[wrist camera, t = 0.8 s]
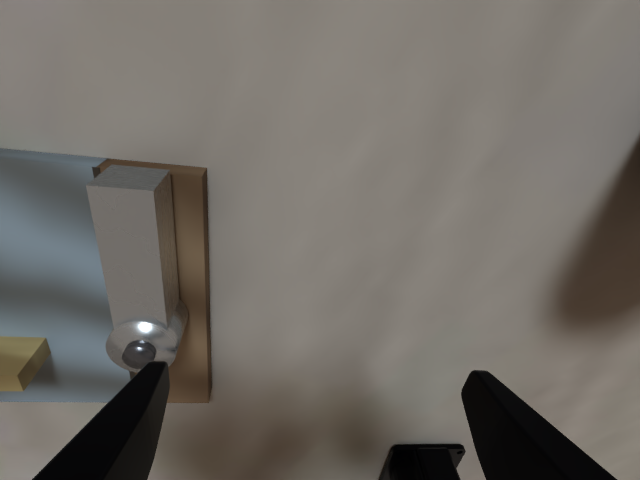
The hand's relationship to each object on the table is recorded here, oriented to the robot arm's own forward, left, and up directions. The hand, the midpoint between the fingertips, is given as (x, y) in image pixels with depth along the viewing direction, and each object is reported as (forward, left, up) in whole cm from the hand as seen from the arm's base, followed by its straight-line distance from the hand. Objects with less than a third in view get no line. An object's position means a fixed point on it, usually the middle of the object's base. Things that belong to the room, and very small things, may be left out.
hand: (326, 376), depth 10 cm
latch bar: (-3, +7, -10) cm, 13 cm away
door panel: (-7, +12, -11) cm, 18 cm away
